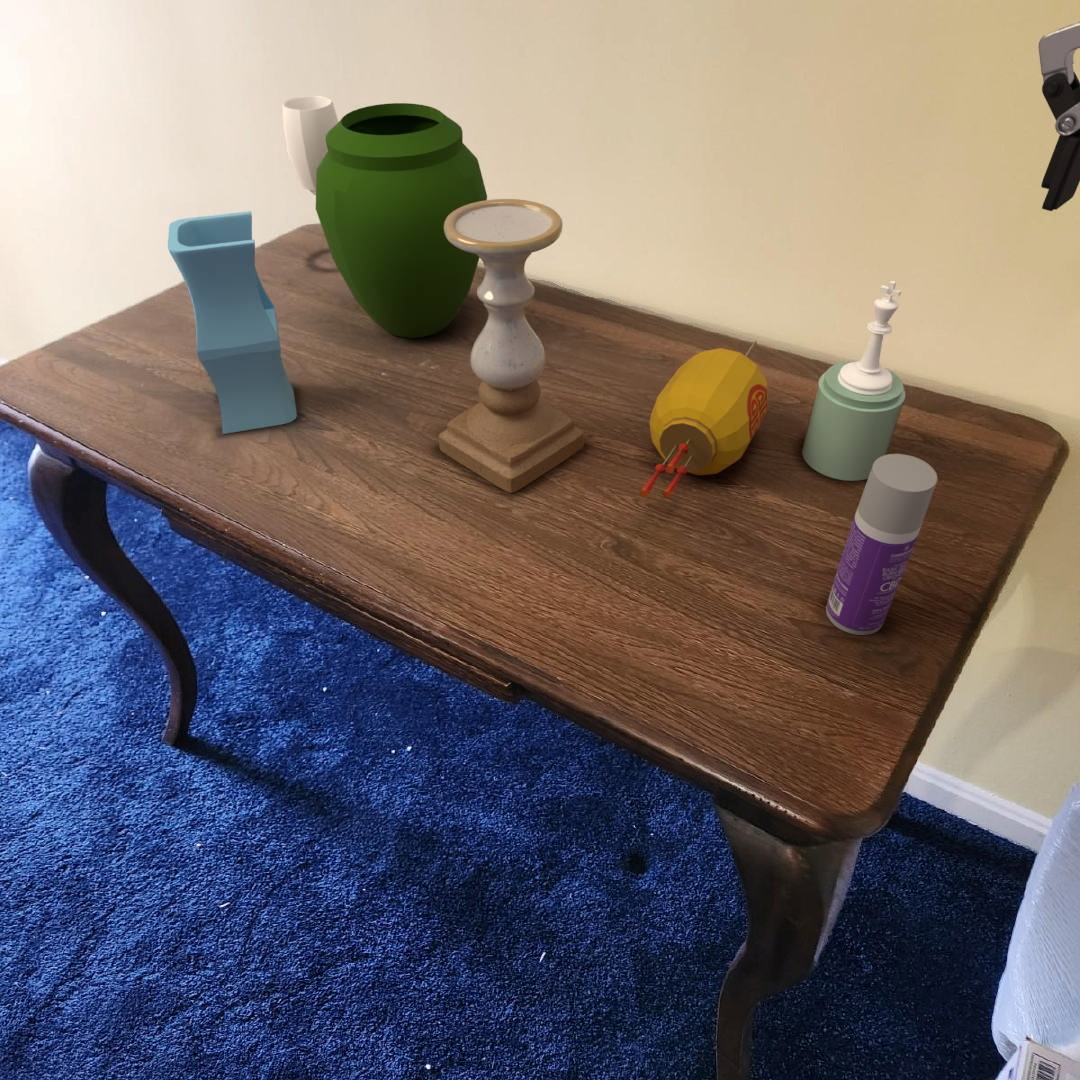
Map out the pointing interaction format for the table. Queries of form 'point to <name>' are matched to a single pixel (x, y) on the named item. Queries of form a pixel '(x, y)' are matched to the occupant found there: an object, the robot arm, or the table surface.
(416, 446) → the table surface
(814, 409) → the upturned tumbler
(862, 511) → the container
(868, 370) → the chess piece
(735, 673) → the table surface
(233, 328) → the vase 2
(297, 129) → the cup
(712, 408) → the lantern
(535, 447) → the candle holder
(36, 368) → the table surface
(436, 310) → the vase
